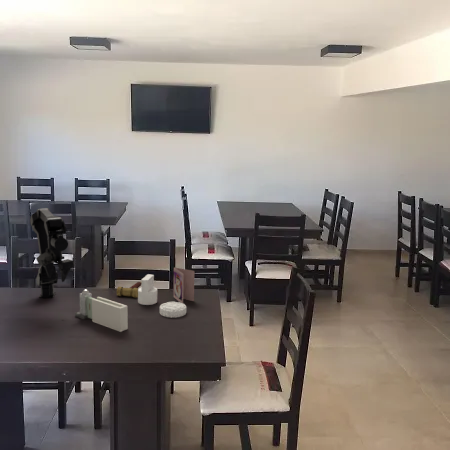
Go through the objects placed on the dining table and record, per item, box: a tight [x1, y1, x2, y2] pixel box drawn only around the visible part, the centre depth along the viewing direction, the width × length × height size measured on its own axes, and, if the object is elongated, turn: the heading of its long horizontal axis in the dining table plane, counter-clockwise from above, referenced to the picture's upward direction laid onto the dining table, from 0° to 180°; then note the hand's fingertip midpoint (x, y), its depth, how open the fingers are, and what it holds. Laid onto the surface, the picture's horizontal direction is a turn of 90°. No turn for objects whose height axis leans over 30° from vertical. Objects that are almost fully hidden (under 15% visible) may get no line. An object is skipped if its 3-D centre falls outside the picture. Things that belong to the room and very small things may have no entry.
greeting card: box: [172, 267, 195, 304], centre depth 241 cm, size 11×7×15 cm, turn 28°
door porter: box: [74, 289, 93, 320], centre depth 218 cm, size 6×5×12 cm
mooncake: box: [159, 301, 187, 319], centre depth 226 cm, size 12×12×4 cm
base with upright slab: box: [137, 273, 158, 306], centre depth 237 cm, size 9×9×12 cm
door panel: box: [87, 297, 107, 320], centre depth 213 cm, size 12×1×9 cm, turn 55°
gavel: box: [116, 281, 141, 299], centre depth 253 cm, size 21×5×10 cm
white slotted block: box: [91, 296, 129, 333], centre depth 209 cm, size 17×4×10 cm, turn 55°
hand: (56, 279), depth 225 cm, fingers open, 9 cm apart
